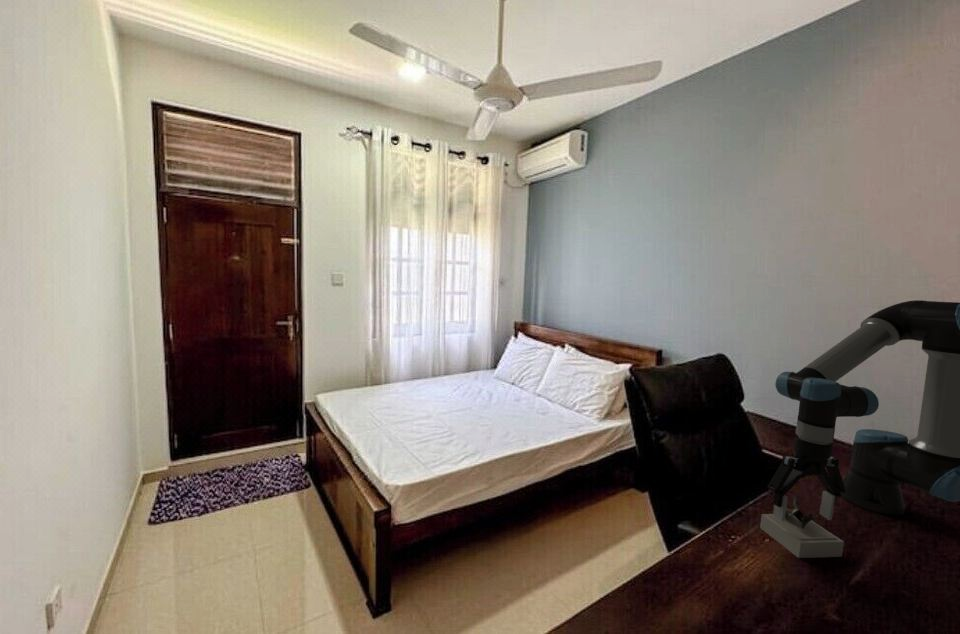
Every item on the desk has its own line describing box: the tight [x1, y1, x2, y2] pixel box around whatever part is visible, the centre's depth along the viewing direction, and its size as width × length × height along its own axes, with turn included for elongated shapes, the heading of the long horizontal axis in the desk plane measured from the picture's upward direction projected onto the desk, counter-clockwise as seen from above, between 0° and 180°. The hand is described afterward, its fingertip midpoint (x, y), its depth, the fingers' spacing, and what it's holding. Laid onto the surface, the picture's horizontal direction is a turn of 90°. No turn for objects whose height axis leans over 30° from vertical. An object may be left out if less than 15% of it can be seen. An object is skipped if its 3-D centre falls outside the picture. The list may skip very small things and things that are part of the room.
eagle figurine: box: [785, 492, 822, 529], centre depth 109 cm, size 8×7×9 cm
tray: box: [759, 513, 845, 559], centre depth 107 cm, size 12×12×4 cm
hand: (802, 517), depth 106 cm, fingers open, 13 cm apart
